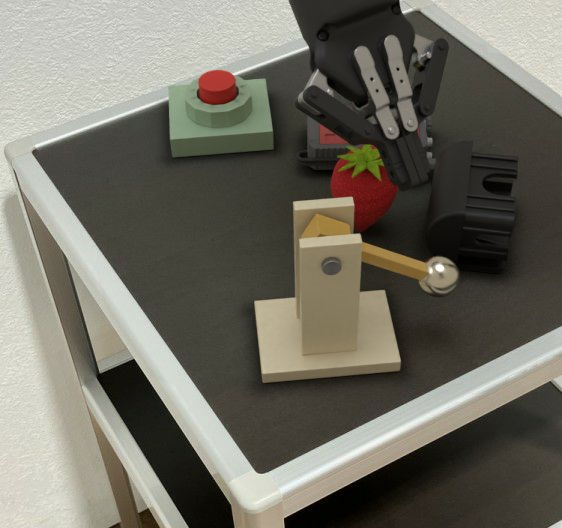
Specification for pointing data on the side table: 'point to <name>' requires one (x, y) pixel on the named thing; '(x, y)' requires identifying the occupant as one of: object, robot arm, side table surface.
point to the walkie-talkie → (345, 145)
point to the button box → (220, 120)
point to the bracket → (326, 308)
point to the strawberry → (363, 184)
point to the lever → (395, 259)
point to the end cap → (471, 207)
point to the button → (217, 87)
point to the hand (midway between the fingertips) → (415, 186)
